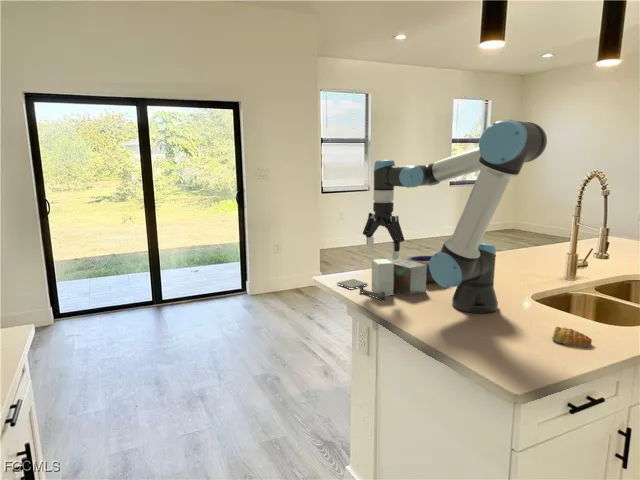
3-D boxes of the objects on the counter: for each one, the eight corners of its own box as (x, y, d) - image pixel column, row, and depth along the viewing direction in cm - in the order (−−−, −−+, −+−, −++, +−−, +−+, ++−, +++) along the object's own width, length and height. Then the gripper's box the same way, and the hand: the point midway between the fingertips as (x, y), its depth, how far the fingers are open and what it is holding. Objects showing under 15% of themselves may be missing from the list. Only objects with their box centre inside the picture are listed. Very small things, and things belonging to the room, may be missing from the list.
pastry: (592, 342, 119) (593, 329, 118) (590, 351, 114) (591, 338, 113) (554, 335, 125) (555, 322, 124) (550, 343, 119) (551, 330, 119)
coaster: (367, 285, 176) (367, 283, 176) (350, 289, 171) (350, 287, 171) (353, 281, 184) (353, 278, 183) (337, 284, 178) (337, 282, 178)
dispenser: (425, 291, 167) (426, 264, 165) (387, 302, 155) (387, 273, 153) (393, 281, 181) (393, 256, 180) (355, 291, 169) (355, 264, 167)
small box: (393, 296, 162) (394, 263, 160) (378, 297, 161) (378, 264, 159) (386, 290, 170) (386, 258, 168) (371, 291, 169) (371, 259, 167)
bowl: (425, 272, 197) (425, 251, 195) (456, 280, 182) (457, 258, 180) (396, 278, 187) (396, 256, 186) (426, 287, 172) (427, 264, 171)
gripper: (415, 203, 151) (413, 261, 155) (368, 198, 171) (367, 249, 175) (400, 204, 147) (398, 264, 151) (354, 199, 167) (353, 252, 171)
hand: (382, 256), depth 163 cm, fingers open, 13 cm apart
